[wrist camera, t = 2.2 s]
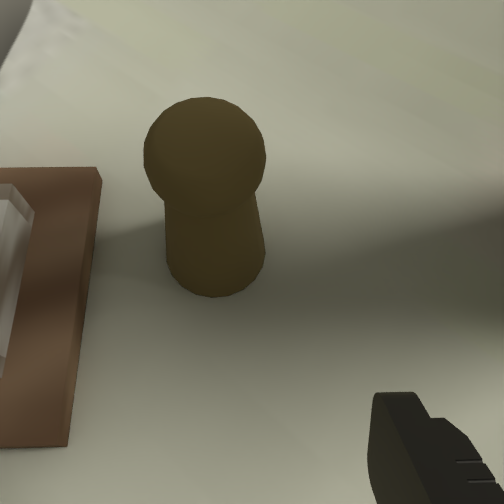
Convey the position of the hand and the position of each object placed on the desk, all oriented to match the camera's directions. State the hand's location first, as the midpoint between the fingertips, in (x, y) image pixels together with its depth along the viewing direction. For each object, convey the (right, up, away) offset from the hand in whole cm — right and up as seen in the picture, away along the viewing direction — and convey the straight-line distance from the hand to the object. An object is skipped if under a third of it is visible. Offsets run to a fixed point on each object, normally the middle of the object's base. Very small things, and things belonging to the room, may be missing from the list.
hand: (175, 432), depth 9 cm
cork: (-1, +4, +19) cm, 20 cm away
